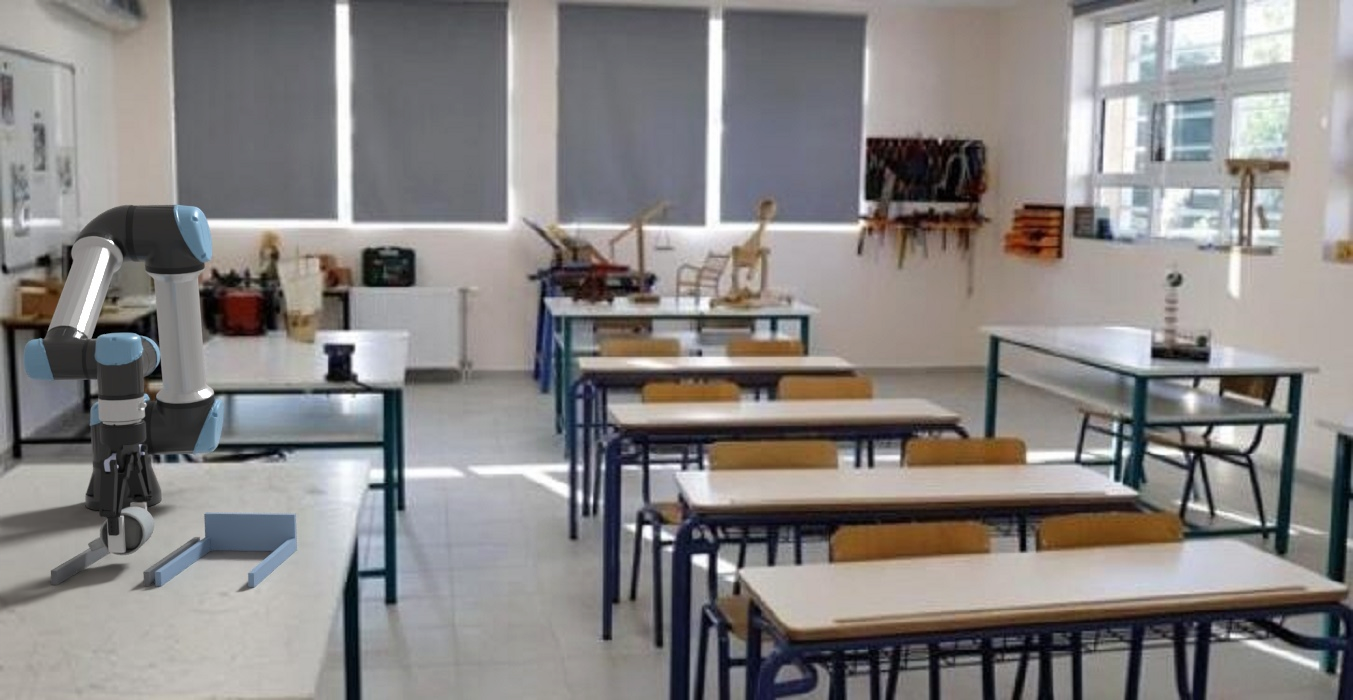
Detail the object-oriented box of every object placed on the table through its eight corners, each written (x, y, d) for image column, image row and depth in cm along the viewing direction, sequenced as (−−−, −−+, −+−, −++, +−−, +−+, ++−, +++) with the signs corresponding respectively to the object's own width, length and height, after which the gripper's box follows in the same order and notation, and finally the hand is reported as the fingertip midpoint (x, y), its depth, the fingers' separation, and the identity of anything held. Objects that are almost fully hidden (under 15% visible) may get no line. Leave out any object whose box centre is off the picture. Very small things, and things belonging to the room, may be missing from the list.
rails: (110, 548, 238) (110, 536, 237) (200, 550, 237) (199, 537, 237) (51, 584, 216) (50, 570, 215) (149, 586, 215) (149, 571, 215)
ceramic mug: (158, 541, 231) (155, 500, 230) (145, 554, 223) (143, 512, 222) (97, 544, 229) (94, 503, 228) (82, 557, 221) (79, 515, 220)
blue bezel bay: (207, 548, 238) (206, 512, 237) (297, 549, 238) (295, 513, 237) (155, 586, 215) (153, 546, 215) (254, 587, 215) (252, 547, 214)
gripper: (115, 433, 213) (122, 562, 216) (168, 409, 234) (174, 528, 237) (71, 432, 213) (79, 562, 216) (128, 409, 234) (134, 527, 237)
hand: (128, 544), depth 226 cm, fingers closed on ceramic mug, 8 cm apart
